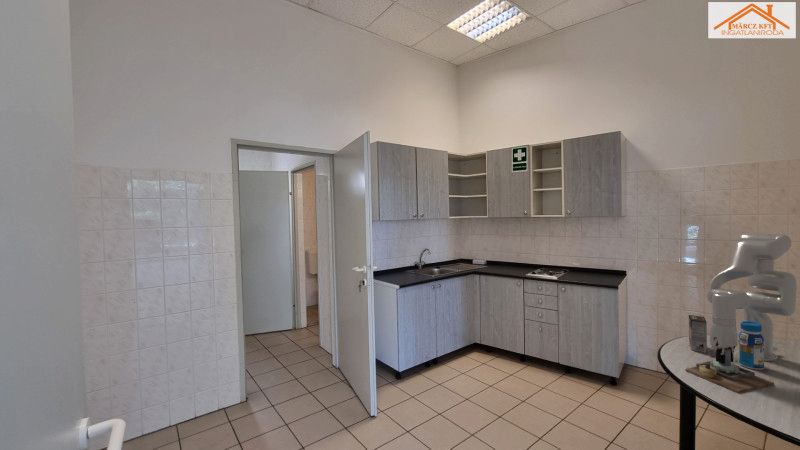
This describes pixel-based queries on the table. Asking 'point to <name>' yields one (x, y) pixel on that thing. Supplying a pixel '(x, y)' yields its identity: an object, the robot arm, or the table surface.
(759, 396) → the table surface
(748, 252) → the robot arm
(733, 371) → the gear
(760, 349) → the beverage bottle
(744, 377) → the carrier
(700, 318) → the coffee box
